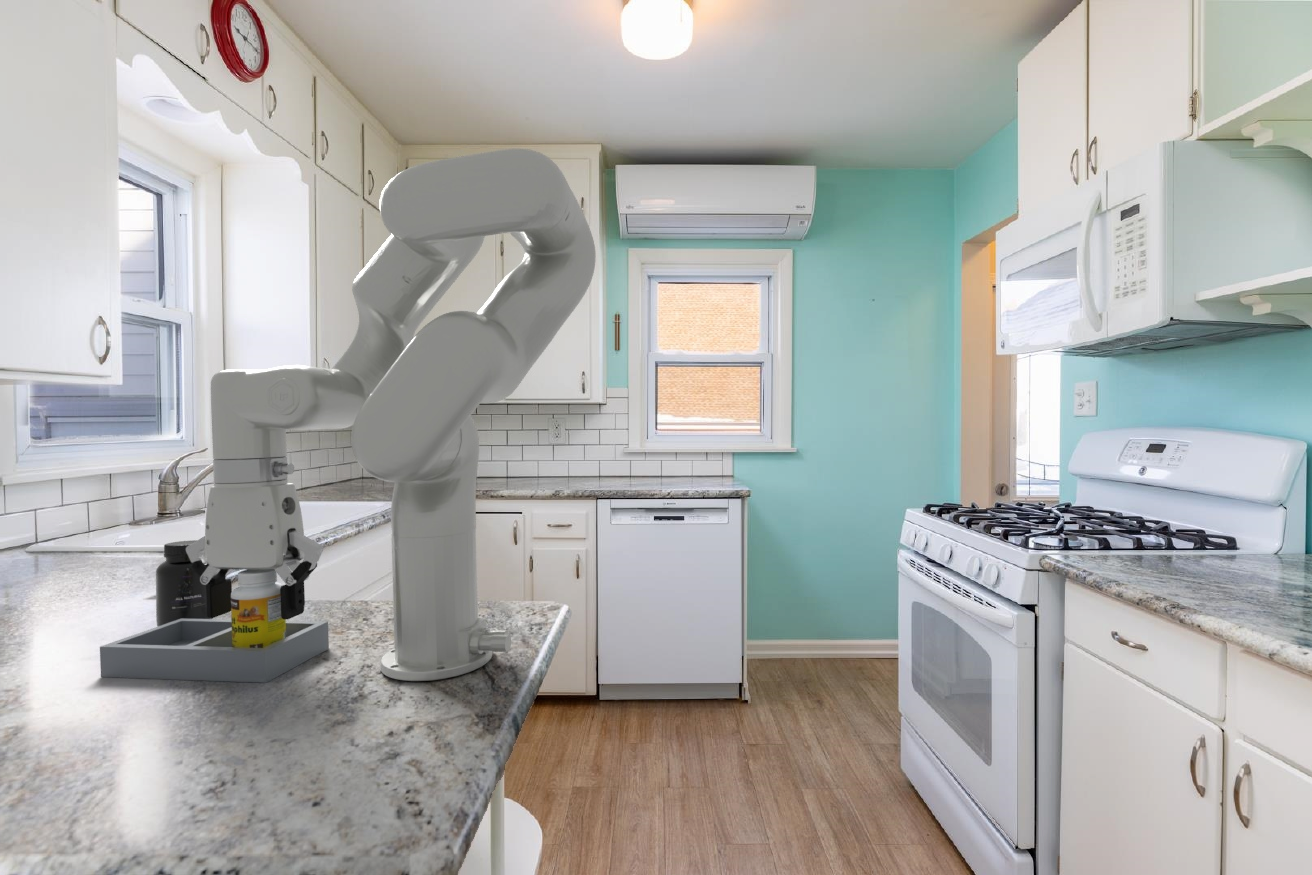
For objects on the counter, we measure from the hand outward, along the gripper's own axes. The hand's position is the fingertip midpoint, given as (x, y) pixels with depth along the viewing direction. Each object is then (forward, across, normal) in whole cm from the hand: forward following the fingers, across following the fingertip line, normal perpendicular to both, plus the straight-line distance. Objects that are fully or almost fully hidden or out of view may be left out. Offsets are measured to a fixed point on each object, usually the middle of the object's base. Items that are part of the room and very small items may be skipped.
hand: (256, 615), depth 79 cm
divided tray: (+6, +5, 0) cm, 8 cm away
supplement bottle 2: (+5, 0, 0) cm, 5 cm away
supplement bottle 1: (+6, +23, -14) cm, 28 cm away
